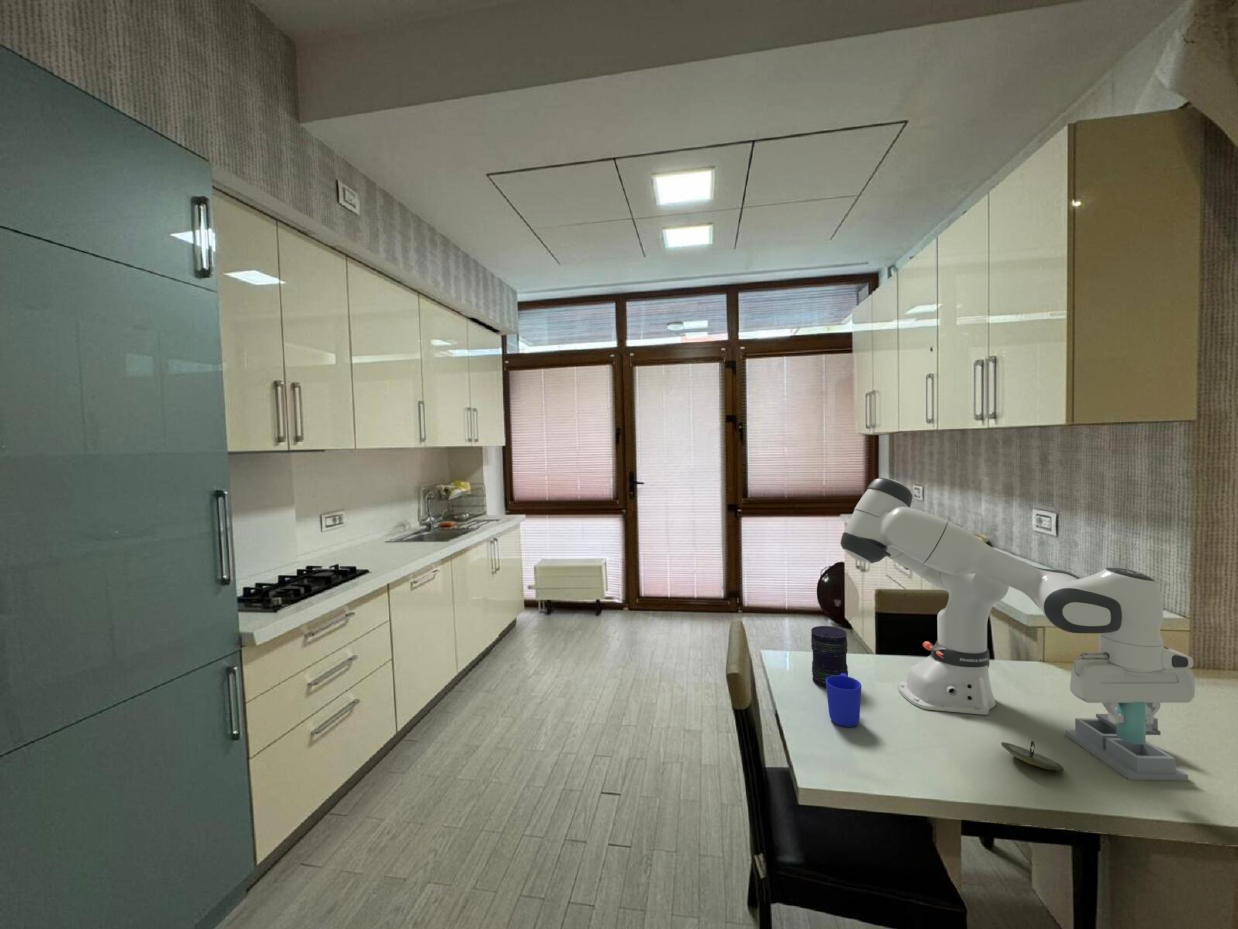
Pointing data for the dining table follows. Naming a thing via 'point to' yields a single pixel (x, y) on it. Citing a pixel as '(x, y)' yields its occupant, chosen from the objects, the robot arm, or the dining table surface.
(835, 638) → the storage jar
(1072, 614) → the robot arm
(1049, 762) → the lid
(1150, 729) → the slide lid
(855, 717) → the mug
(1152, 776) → the housing
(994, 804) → the dining table surface
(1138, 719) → the jaw peg
